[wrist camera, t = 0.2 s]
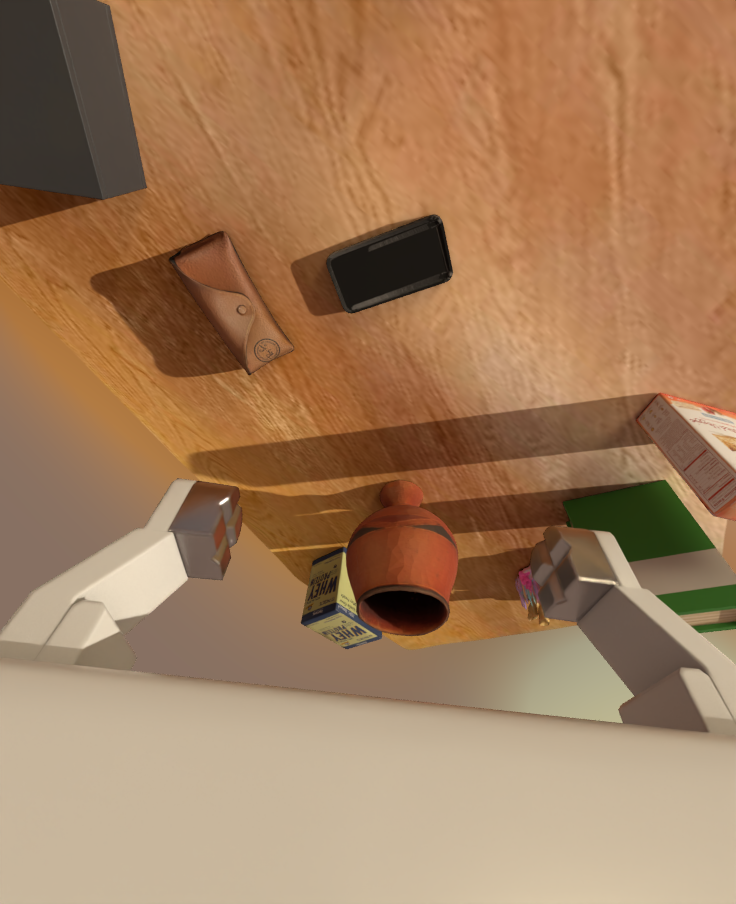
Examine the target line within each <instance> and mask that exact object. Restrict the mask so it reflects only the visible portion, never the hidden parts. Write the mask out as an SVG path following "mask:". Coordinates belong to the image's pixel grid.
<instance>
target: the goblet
mask: <svg viewBox="0 0 736 904" xmlns="http://www.w3.org/2000/svg"><path fill="white" fill-rule="evenodd" d="M422 500H423V492H422V491H421V489H420V488H419V487H418V486H417V485H415V484H414V483H412V482H409V481H403V480H398V481H394V482H391V483H388V484H386V485H385V486H384V487H383V489H382V491H381V493H380V501H381V503H382V504H383V506H384V507H385V508H383V509H381V510H379V511H377V512H375V513H373V514H372V515H370V516H369V517H368V518H366V519H365V520H364V521H363V522H362V523H361V524H360V525H359V526H358V527H357V528H356V529H355V531H354V532H353V534H352V536H351V538H350V540H349V544H348V547H347V552H346V567H347V574H348V578H349V581H350V585H351V588H352V591H353V594H354V597H355V601H356V604H357V606H356V610H357V615H358V617H359V619H360V620H362V621H363V622H364V623H366V624H367V625H369V626H371V627H372V628H375V629H377V630H379V631H381V632H385V633H390V634H395V635H403V636H419V635H425V634H428V633H430V632H432V631H434V630H437V629H438V628H440V627H441V626H442V625H443V624H444V623H445V622H446V621H447V620H448V617H449V613H450V609H449V598H450V594H451V590H452V587H453V584H454V582H455V578H456V573H457V566H458V549H457V545H456V542H455V539H454V537H453V535H452V533H451V531H450V530H449V528H448V527H447V526H446V524H445V523H444V522H443V521H442V520H441V519H439V518H438V517H437V516H436V515H434V514H433V513H431V512H429V511H427V510H425V509H423V508H420V507H419V505H420V504H421V502H422Z"/></svg>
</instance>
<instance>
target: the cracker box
mask: <svg viewBox="0 0 736 904" xmlns="http://www.w3.org/2000/svg"><path fill="white" fill-rule="evenodd" d="M636 421H637V423H638V424H639V425H640V426H641V428H642V429H643V430H644V431H645V432H646V434H647V435H648V436H649V437H650V439H651V440H652V441H653V442H654V444H655V445H656V446H657V447H658V449H659V450H660V451H661V452H662V453H663V455H664V456H665V457H666V458H667V460H668V461H669V462H670V463H671V465H672V466H673V467H674V468H675V470H676V471H677V472H678V473H679V475H680V476H681V477H682V478H683V480H684V481H685V482H686V483H687V484H688V486H689V487H690V488H691V489H692V491H693V492H694V493H695V494H696V496H697V497H698V498H699V499H700V501H701V502H702V503H703V504H704V506H705V507H706V508H707V509H708V511H709V512H710V513H711V514H712V515H713V516H716V517H720V518H724V519H729V520H733V521H736V413H733V412H729V411H725V410H722V409H718V408H714V407H710V406H707V405H703V404H699V403H696V402H692V401H688V400H684V399H681V398H677V397H674V396H670V395H666V394H663V393H659V394H658V395H657V396H656V397H655V398H654V400H653V401H652V402H651V403H650V404H649V405H648V407H647V408H646V409H645V410H644V411H643V412H642V414H641V415H640V416H639V417H638V418H637V420H636Z"/></svg>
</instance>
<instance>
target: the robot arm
mask: <svg viewBox="0 0 736 904" xmlns="http://www.w3.org/2000/svg"><path fill="white" fill-rule="evenodd" d="M239 498H240V492H239V488H238V487H236V486H229V485H223V484H216V483H209V482H202V481H194V480H187V479H180V478H177V479H176V480H175V481H173V482H172V484H171V485H170V487H169V488H168V490H167V492H166V493H165V495H164V497H163V498H162V500H161V501H160V503H159V505H158V506H157V508H156V509H155V511H154V512H153V514H152V516H151V517H150V519H149V520H148V522H147V524H146V525H145V527H144V528H143V529H141V528H136V529H135V530H133V531H131V532H130V533H128V534H126V535H125V536H123V537H122V538H120V539H118V540H116V541H115V542H113V543H111V544H110V545H108V546H107V547H105V548H103V549H102V550H100V551H98V552H97V553H95V554H93V555H92V556H90V557H88V558H87V559H85V560H83V561H82V562H80V563H78V564H77V565H75V566H73V567H72V568H70V569H69V570H67V571H65V572H63V573H62V574H60V575H58V576H57V577H55V578H53V579H52V580H50V581H48V582H47V583H45V584H43V585H42V586H40V587H38V588H37V589H35V590H33V591H32V592H31V593H30V594H29V595H28V596H27V598H26V599H25V600H24V602H23V603H22V604H21V605H20V607H19V608H18V609H17V611H16V612H15V613H14V615H13V616H12V617H11V618H10V620H9V621H8V622H7V623H6V625H5V626H4V627H3V629H2V630H1V631H0V904H736V664H735V663H733V662H732V661H731V660H730V659H729V658H727V657H726V656H725V655H724V654H723V653H722V652H720V651H719V650H718V649H717V648H716V647H715V646H713V645H712V644H711V643H710V642H709V641H708V640H706V639H705V638H704V637H703V636H702V635H701V634H699V633H698V632H697V631H696V630H695V629H694V628H692V627H691V626H690V625H689V624H688V623H686V622H685V621H684V620H683V619H682V618H681V617H679V616H678V615H677V614H676V613H675V612H674V611H672V610H671V609H670V608H669V607H668V606H667V605H665V604H664V603H663V602H662V601H661V600H660V599H658V598H657V597H656V596H655V595H654V594H652V593H651V592H650V591H649V590H648V589H643V588H641V586H640V585H639V583H638V581H637V579H636V577H635V575H634V573H633V571H632V569H631V567H630V566H629V564H628V562H627V560H626V558H625V556H624V554H623V552H622V550H621V549H620V547H619V545H618V543H617V541H616V539H615V537H614V536H613V535H612V534H611V533H610V532H604V531H596V530H587V529H581V528H572V527H563V526H554V525H551V526H549V527H548V528H547V529H546V530H545V532H544V533H543V535H544V538H545V540H543V541H541V542H539V543H537V544H536V545H535V547H534V549H533V550H532V552H531V558H530V568H531V573H532V576H533V579H534V580H535V581H536V582H537V583H538V584H539V585H540V586H541V588H540V590H539V592H538V597H539V600H540V603H541V606H542V610H543V613H544V616H545V618H551V619H558V620H565V621H572V622H578V623H577V625H578V626H579V628H580V629H581V630H582V631H583V632H584V634H585V635H586V636H587V637H588V639H589V640H590V641H591V642H592V643H593V645H594V646H595V647H596V649H597V650H598V651H599V652H600V654H601V655H602V656H603V657H604V659H605V660H606V661H607V662H608V664H609V665H610V666H611V667H612V669H613V670H614V671H615V672H616V673H617V675H618V676H619V677H620V678H621V680H622V681H623V682H624V683H625V685H626V686H627V687H628V688H629V690H630V691H631V692H632V693H633V695H634V697H633V698H631V699H630V700H628V701H627V702H625V703H623V704H622V705H621V706H620V708H619V709H618V710H619V713H620V716H621V718H622V721H623V723H615V722H605V721H596V720H587V719H576V718H568V717H558V716H549V715H540V714H531V713H521V712H512V711H502V710H493V709H484V708H475V707H465V706H456V705H447V704H436V703H427V702H419V701H409V700H400V699H391V698H381V697H372V696H362V695H352V694H344V693H335V692H325V691H316V690H306V689H297V688H288V687H277V686H269V685H259V684H250V683H241V682H231V681H222V680H212V679H203V678H194V677H184V676H175V675H165V674H156V673H147V672H138V671H131V669H132V667H133V665H134V663H135V661H136V659H137V658H136V655H135V652H134V651H133V649H132V647H131V646H130V645H129V643H128V641H127V640H126V638H125V637H124V636H125V635H126V634H127V633H128V632H129V631H131V630H132V629H133V628H134V627H135V626H136V625H137V624H139V623H140V622H141V621H142V620H143V619H144V618H145V617H146V616H148V615H149V614H150V613H151V612H152V611H153V610H154V609H155V608H156V607H157V606H159V605H160V604H161V603H162V602H163V601H164V600H165V599H167V598H168V597H169V596H170V595H171V594H172V593H173V592H174V591H175V590H177V589H178V588H179V587H180V586H181V585H182V584H183V583H184V582H186V581H187V580H188V577H191V578H202V579H213V580H223V577H224V574H225V572H226V569H227V567H228V564H229V561H230V559H231V555H230V549H229V548H230V547H232V546H233V545H234V544H236V543H237V540H238V537H239V534H240V531H241V526H242V515H243V514H242V508H241V507H240V506H239V505H238V504H237V503H238V501H239Z"/></svg>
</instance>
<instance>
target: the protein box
mask: <svg viewBox="0 0 736 904" xmlns="http://www.w3.org/2000/svg"><path fill="white" fill-rule="evenodd" d="M346 552H347V549H346V548H345V547H343V548H340V549H338V550H336V551H334V552H332V553H330V554H328V555H325V556H323V557H321V558H319V559H317V560H315V561H313V563H312V569H311V574H310V579H309V584H308V590H307V594H306V600H305V605H304V610H303V615H302V621H301V624H303V625H304V626H306V627H308V628H310V629H312V630H313V631H315V632H317V633H319V634H321V635H322V636H324V637H326V638H328V639H330V640H331V641H333V642H335V643H336V644H338V645H340V646H341V647H343V648H345V649H349V648H353V647H355V646H359V645H362V644H366V643H369V642H372V641H376V640H379V639H382V632H381V631H379V630H377V629H375V628H372V627H371V626H369V625H367V624H366V623H364V622H363V621H362V620H360V619H359V617H358V615H357V610H356V606H357V604H356V601H355V597H354V594H353V591H352V588H351V585H350V581H349V578H348V574H347V567H346Z"/></svg>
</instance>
